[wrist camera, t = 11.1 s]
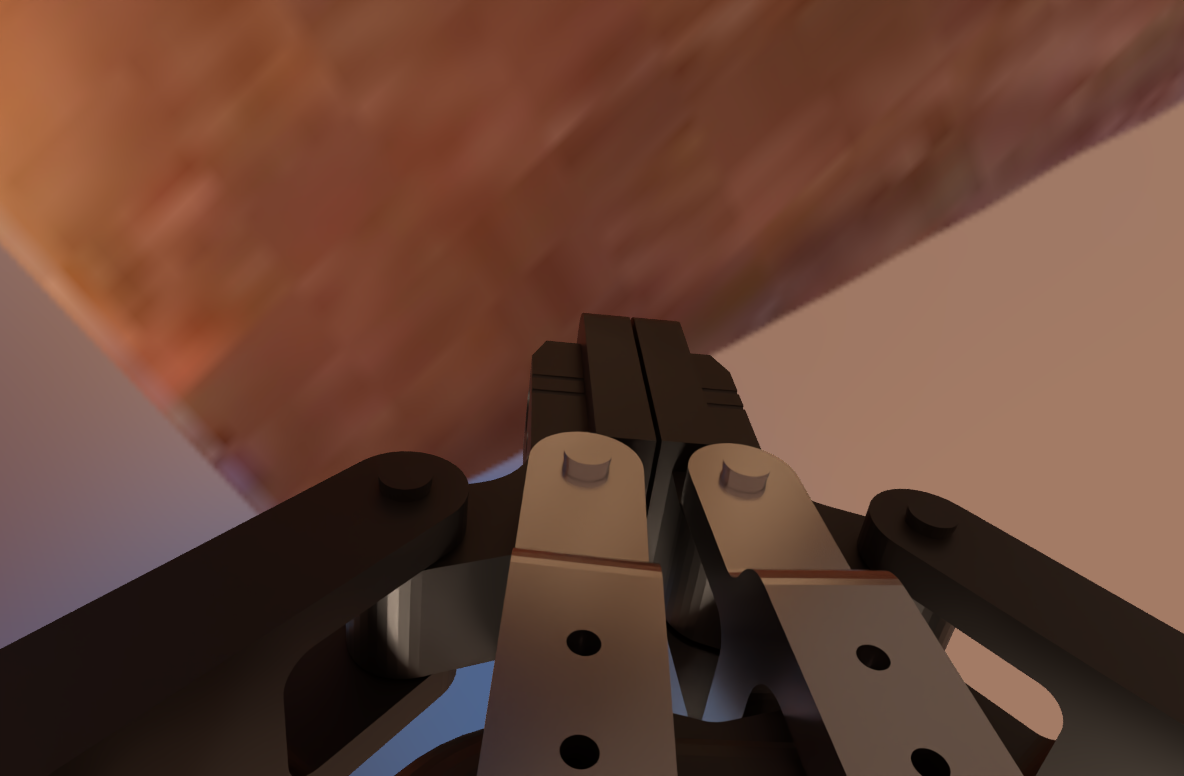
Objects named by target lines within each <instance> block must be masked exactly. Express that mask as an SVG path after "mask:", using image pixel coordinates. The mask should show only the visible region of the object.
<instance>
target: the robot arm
mask: <svg viewBox="0 0 1184 776" xmlns="http://www.w3.org/2000/svg"><path fill="white" fill-rule="evenodd" d="M955 627H956V628H957V629H959V630H960V631H962V632H963V633H965V634H966V635H968V636H969V637H971V638H972V639H974V640H975V641H977V642H978V643H980V644H981V645H983V646H984V647H986V648H987V649H989V650H990V651H992V652H993V653H995V654H996V655H998V656H999V657H1001V658H1002V659H1004V660H1005V661H1007V662H1008V663H1010V664H1011V665H1013V666H1014V667H1016V668H1017V669H1019V670H1020V671H1022V672H1023V673H1025V674H1026V675H1028V676H1029V677H1031V678H1032V679H1034V680H1035V681H1037V682H1038V683H1040V684H1041V685H1042V686H1044V687H1045V688H1046V689H1047V690H1048V691H1049V692H1050V693H1051V694H1052V695H1053V696H1054V698H1055V699H1056V701H1057V702H1058V704H1059V706H1060V708H1061V711H1062V715H1063V728H1062V730H1061V733H1060V734H1059V736H1058V738H1057V739H1056V740H1051V739H1048V738H1045V737H1043V736H1040V735H1039V734H1037V733H1035V732H1034V731H1032V730H1031V729H1029V728H1028V727H1027V726H1025V725H1024V724H1023V723H1021V722H1019V721H1018V720H1017V719H1015V718H1014V717H1013V716H1011V715H1010V714H1008V713H1007V712H1005V711H1004V710H1003V709H1001V708H1000V707H998V706H997V705H996V704H994V703H993V702H991V701H990V700H988V699H987V698H986V697H984V696H983V695H981V694H980V693H978V692H977V691H975V690H974V689H973V688H971V687H970V686H969V685H967V684H966V683H965V682H964V681H963V679H962V678H961V676H960V675H959V673H958V672H957V670H956V668H955V667H954V665H953V664H952V662H951V660H950V659H949V657H948V656H947V654H946V652H945V649H946V647H947V645H948V642H949V640H950V638H951V636H952V633H953V631H954V629H955ZM494 660H495V663H494V669H493V676H492V682H491V689H490V696H489V701H488V708H487V714H486V721H485V727H484V729H481V730H478V731H475V732H472V733H468V734H465V735H462V736H460V737H457V738H455V739H453V740H451V741H449V742H446V743H444V744H441V745H439V746H438V747H436V748H434V749H433V750H431V751H429V752H427V753H426V754H424V755H422V756H421V757H419V758H417V759H416V760H415V761H413V762H412V763H410V764H409V765H408V766H406V767H405V768H404V769H402V770H401V771H400V772H398V773H397V774H396V775H395V776H1184V634H1183V633H1181V632H1180V631H1178V630H1176V629H1174V628H1173V627H1171V626H1169V625H1167V624H1165V623H1164V622H1162V621H1160V620H1158V619H1157V618H1155V617H1153V616H1151V615H1149V614H1148V613H1146V612H1144V611H1143V610H1141V609H1139V608H1137V607H1136V606H1134V605H1132V604H1130V603H1129V602H1127V601H1125V600H1123V599H1122V598H1120V597H1118V596H1116V595H1115V594H1112V593H1111V592H1109V591H1107V590H1106V589H1104V588H1102V587H1101V586H1099V585H1097V584H1095V583H1093V582H1092V581H1090V580H1088V579H1086V578H1085V577H1083V576H1081V575H1079V574H1078V573H1076V572H1074V571H1072V570H1071V569H1069V568H1067V567H1065V566H1064V565H1062V564H1060V563H1058V562H1056V561H1055V560H1053V559H1051V558H1050V557H1048V556H1046V555H1044V554H1043V553H1041V552H1039V551H1037V550H1036V549H1034V548H1032V547H1030V546H1028V545H1027V544H1025V543H1023V542H1021V541H1020V540H1018V539H1016V538H1014V537H1013V536H1011V535H1009V534H1007V533H1006V532H1004V531H1002V530H1000V529H999V528H997V527H995V526H993V525H992V524H990V523H988V522H986V521H985V520H983V519H981V518H979V517H978V516H976V515H974V514H972V513H971V512H969V511H967V510H965V509H963V508H962V507H960V506H958V505H956V504H954V503H952V502H950V501H949V500H946V499H944V498H941V497H939V496H936V495H933V494H930V493H926V492H922V491H918V490H910V489H892V490H887V491H884V492H881V493H879V494H877V495H876V496H875V497H874V498H873V499H872V500H871V502H870V505H869V508H868V511H867V514H866V516H862V515H858V514H855V513H851V512H847V511H844V510H840V509H836V508H833V507H829V506H826V505H822V504H819V503H816V502H814V501H812V500H811V499H810V497H809V495H808V493H807V491H806V490H805V488H804V486H803V485H802V483H801V481H800V479H799V477H798V476H797V474H796V473H795V472H794V471H793V469H792V468H791V467H790V466H789V465H787V464H786V463H785V462H784V461H783V460H781V459H779V458H778V457H776V456H774V455H772V454H770V453H768V452H766V451H763V450H761V448H760V446H759V443H758V441H757V438H756V436H755V434H754V431H753V428H752V426H751V423H750V421H749V418H748V416H747V414H746V411H745V410H743V404H742V401H741V399H740V397H739V395H738V394H737V389H736V386H735V384H734V382H733V379H732V377H731V374H730V372H729V371H728V370H727V369H725V368H724V367H723V366H722V365H721V364H720V363H718V362H717V361H716V360H715V359H714V358H713V357H712V356H710V355H703V354H691V353H690V351H689V348H688V345H687V342H686V339H685V336H684V333H683V330H682V327H681V325H680V323H679V322H677V321H667V320H656V319H645V318H634V317H632V318H631V320H630V318H629V317H622V316H611V315H600V314H589V313H582V315H581V318H580V324H579V330H578V338H577V344H576V343H565V342H554V341H546V342H545V343H544V344H543V345H542V346H541V347H540V348H539V349H538V350H537V351H536V352H535V353H534V354H533V355H532V363H531V373H530V383H529V393H528V402H527V412H526V422H525V432H524V446H523V465H522V466H521V467H520V468H519V469H517V470H516V471H514V472H512V473H511V474H508V475H506V476H504V477H501V478H498V479H495V480H491V481H486V482H480V483H473V484H468V481H467V478H466V476H465V475H464V474H463V472H462V471H461V470H460V469H459V468H458V467H457V466H455V465H454V464H452V463H451V462H449V461H447V460H445V459H443V458H440V457H437V456H434V455H431V454H426V453H421V452H404V451H401V452H390V453H385V454H380V455H376V456H373V457H370V458H368V459H365V460H363V461H361V462H359V463H357V464H355V465H353V466H351V467H350V468H348V469H346V470H344V471H342V472H340V473H338V474H336V475H334V476H332V477H330V478H328V479H326V480H325V481H323V482H321V483H319V484H317V485H315V486H313V487H311V488H309V489H307V490H305V491H303V492H301V493H300V494H298V495H296V496H294V497H292V498H290V499H288V500H286V501H284V502H282V503H280V504H278V505H276V506H275V507H273V508H271V509H269V510H267V511H265V512H263V513H261V514H259V515H257V516H255V517H253V518H251V519H250V520H248V521H246V522H244V523H242V524H240V525H238V526H236V527H235V528H232V529H230V530H228V531H227V532H225V533H223V534H221V535H219V536H217V537H215V538H213V539H211V540H209V541H207V542H205V543H203V544H202V545H200V546H198V547H196V548H194V549H192V550H190V551H188V552H186V553H184V554H182V555H180V556H179V557H177V558H175V559H173V560H171V561H169V562H167V563H165V564H163V565H161V566H159V567H158V568H155V569H153V570H152V571H150V572H148V573H146V574H144V575H142V576H140V577H138V578H136V579H134V580H132V581H130V582H129V583H127V584H125V585H123V586H121V587H119V588H117V589H115V590H113V591H111V592H109V593H107V594H105V595H103V596H102V597H100V598H98V599H96V600H94V601H92V602H90V603H88V604H86V605H84V606H82V607H80V608H78V609H77V610H75V611H73V612H71V613H69V614H67V615H65V616H63V617H61V618H59V619H57V620H55V621H54V622H52V623H50V624H48V625H46V626H44V627H42V628H40V629H38V630H36V631H34V632H32V633H30V634H28V635H27V636H25V637H23V638H21V639H19V640H17V641H15V642H13V643H11V644H9V645H7V646H5V647H4V648H2V649H0V776H349V775H350V774H351V773H352V772H353V771H355V770H356V769H357V768H358V767H359V766H360V765H361V764H362V763H364V762H365V761H366V760H367V759H368V758H370V757H371V756H372V755H373V754H374V753H375V752H377V751H378V750H379V749H380V748H381V747H382V746H383V745H385V743H387V742H388V741H389V740H390V739H392V738H393V737H394V736H395V735H396V734H397V733H399V732H400V731H401V730H402V729H403V728H404V727H405V726H407V725H408V724H409V723H410V722H411V721H412V720H413V719H415V718H416V717H417V716H418V715H419V714H420V713H421V712H423V711H424V710H425V709H426V708H427V707H428V706H430V705H431V704H432V703H433V702H434V701H436V700H437V699H438V698H439V697H440V696H441V695H442V694H443V693H444V692H445V691H446V690H447V689H448V688H449V686H450V685H451V684H452V682H453V680H454V677H455V675H456V669H458V668H463V667H467V666H471V665H476V664H480V663H485V662H489V661H494Z"/></svg>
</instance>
